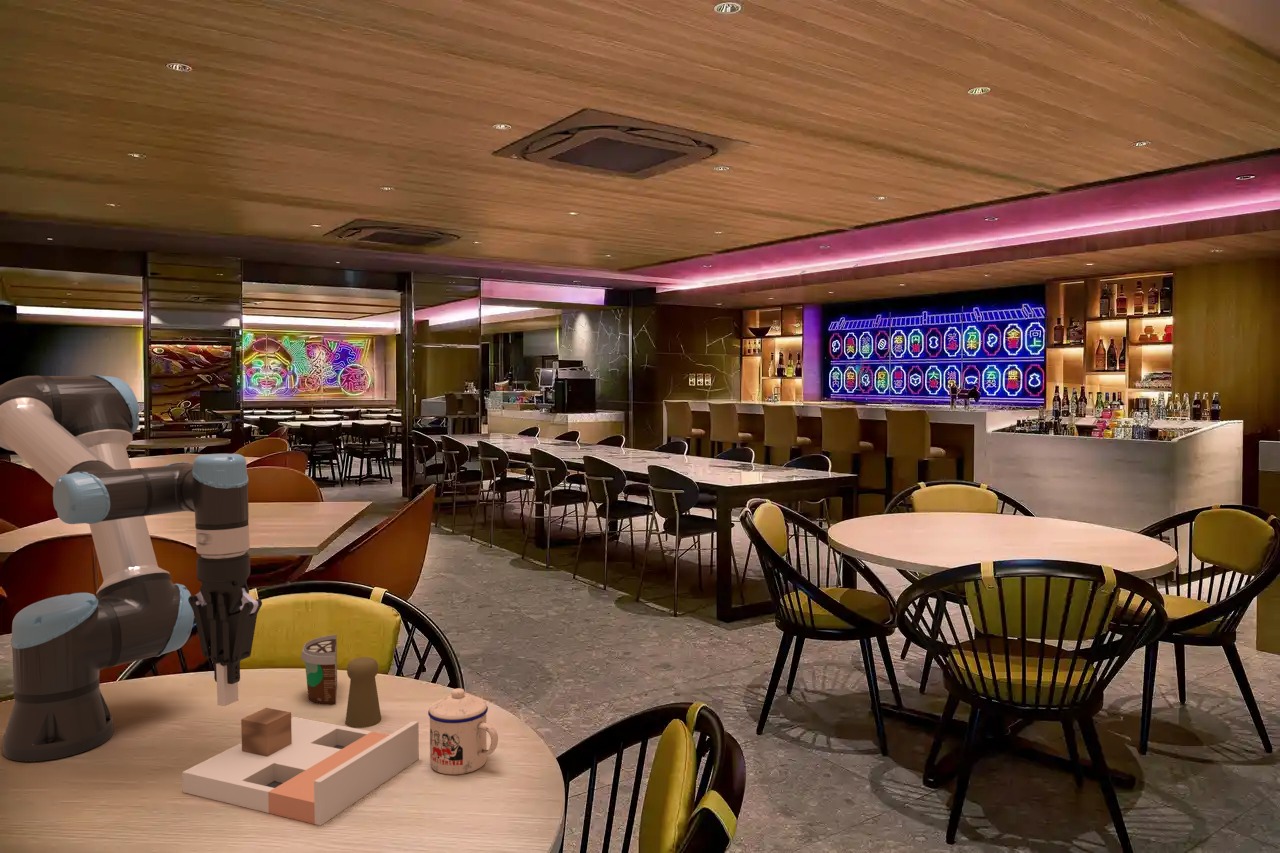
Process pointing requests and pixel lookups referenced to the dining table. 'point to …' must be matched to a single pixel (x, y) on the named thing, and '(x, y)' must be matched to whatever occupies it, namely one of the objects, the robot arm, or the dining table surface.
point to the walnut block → (266, 731)
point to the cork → (362, 693)
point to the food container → (321, 669)
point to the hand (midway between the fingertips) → (228, 702)
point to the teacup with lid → (459, 733)
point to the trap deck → (306, 770)
